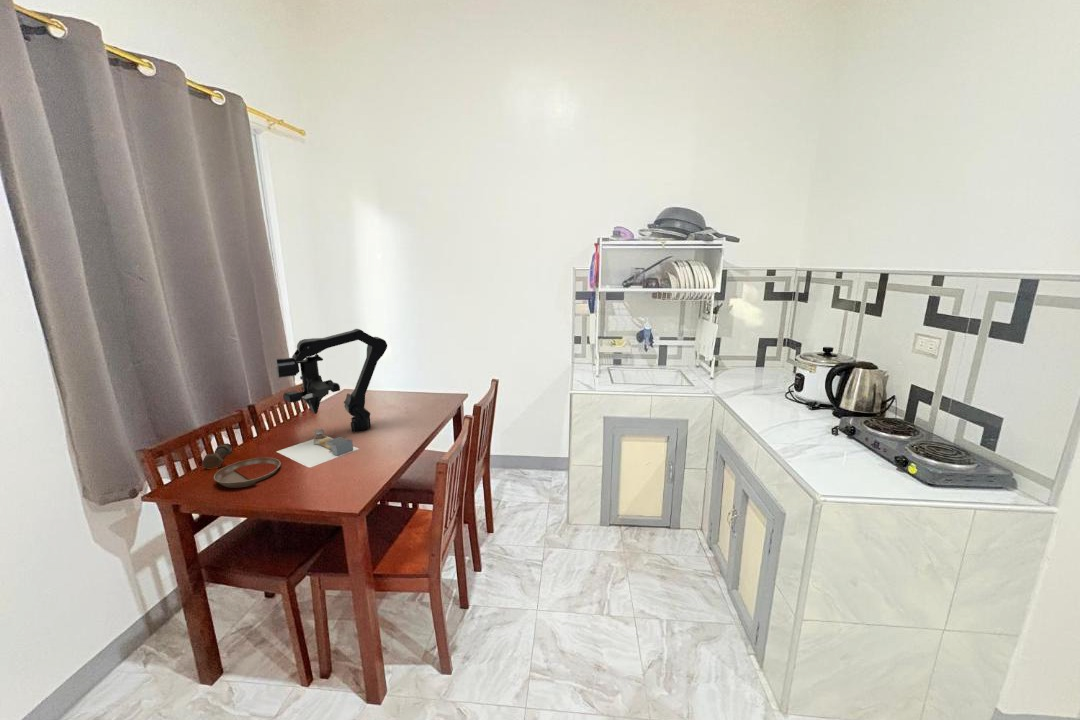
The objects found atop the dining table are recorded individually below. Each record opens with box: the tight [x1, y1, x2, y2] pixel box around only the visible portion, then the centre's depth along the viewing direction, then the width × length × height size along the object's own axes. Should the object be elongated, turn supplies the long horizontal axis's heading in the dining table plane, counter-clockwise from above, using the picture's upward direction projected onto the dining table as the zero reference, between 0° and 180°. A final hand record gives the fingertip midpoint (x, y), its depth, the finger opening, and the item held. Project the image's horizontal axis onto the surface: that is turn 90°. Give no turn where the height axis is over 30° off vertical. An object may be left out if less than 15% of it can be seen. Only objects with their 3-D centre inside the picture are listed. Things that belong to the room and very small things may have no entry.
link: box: [312, 428, 332, 450], centre depth 159 cm, size 15×4×4 cm, turn 54°
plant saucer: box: [213, 457, 281, 489], centre depth 139 cm, size 18×18×3 cm
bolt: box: [201, 443, 233, 469], centre depth 151 cm, size 6×5×15 cm
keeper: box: [327, 436, 354, 457], centre depth 154 cm, size 6×7×4 cm
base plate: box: [275, 434, 360, 469], centre depth 156 cm, size 18×23×1 cm
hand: (315, 413), depth 164 cm, fingers closed
